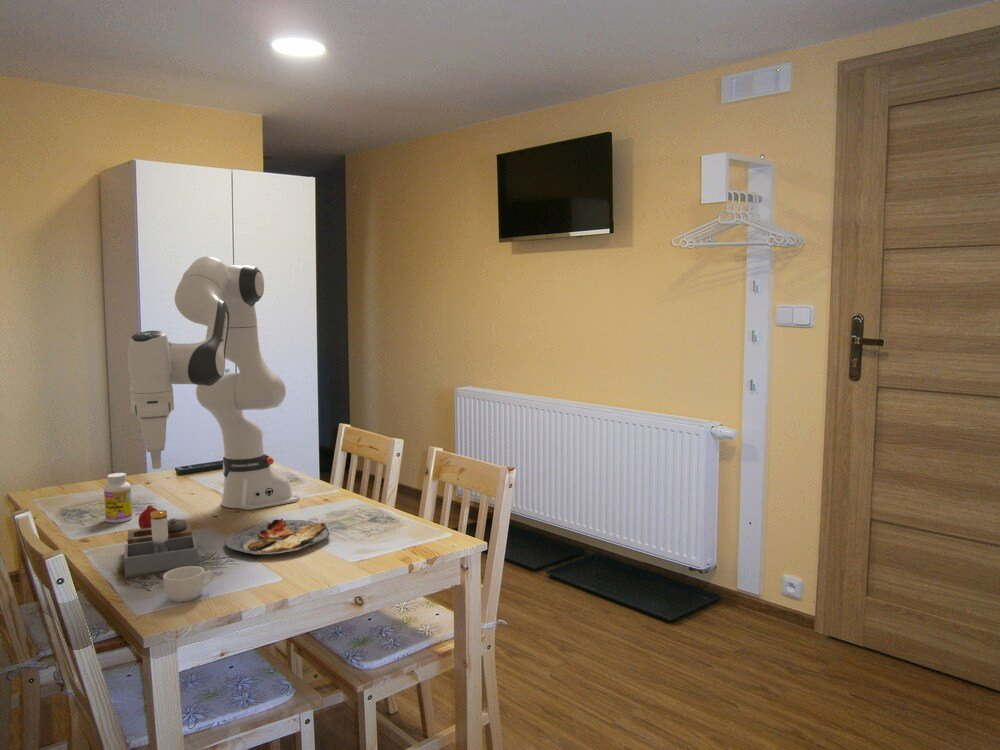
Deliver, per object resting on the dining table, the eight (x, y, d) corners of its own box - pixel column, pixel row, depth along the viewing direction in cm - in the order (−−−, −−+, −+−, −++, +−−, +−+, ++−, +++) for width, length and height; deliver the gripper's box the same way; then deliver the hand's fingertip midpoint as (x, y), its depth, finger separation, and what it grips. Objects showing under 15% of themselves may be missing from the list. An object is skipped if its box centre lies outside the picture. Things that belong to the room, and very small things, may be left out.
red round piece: (139, 532, 198) (138, 503, 197) (163, 529, 200) (162, 500, 200) (138, 539, 193) (137, 508, 192) (163, 536, 195) (161, 506, 194)
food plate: (279, 522, 206) (279, 509, 206) (347, 535, 196) (346, 522, 195) (206, 552, 184) (205, 538, 184) (277, 569, 174) (277, 554, 173)
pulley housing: (191, 541, 191) (189, 512, 190) (192, 551, 183) (191, 521, 183) (129, 550, 185) (127, 520, 184) (128, 560, 177) (126, 529, 177)
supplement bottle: (101, 523, 206) (97, 477, 205) (113, 516, 213) (110, 472, 211) (125, 523, 206) (122, 477, 205) (137, 516, 213) (134, 471, 211)
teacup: (172, 609, 150) (170, 583, 150) (159, 597, 156) (157, 572, 155) (221, 595, 157) (220, 570, 156) (207, 584, 163) (206, 560, 162)
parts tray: (195, 553, 182) (194, 535, 182) (198, 567, 173) (197, 548, 172) (126, 563, 176) (125, 544, 175) (125, 578, 166) (124, 558, 166)
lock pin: (169, 559, 176) (166, 509, 175) (169, 564, 173) (167, 513, 172) (153, 561, 175) (150, 511, 174) (153, 566, 172) (150, 515, 171)
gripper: (137, 398, 178) (141, 455, 180) (136, 411, 160) (140, 475, 161) (166, 396, 181) (170, 452, 182) (169, 409, 162) (172, 471, 164)
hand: (156, 463), depth 172 cm, fingers open, 8 cm apart
